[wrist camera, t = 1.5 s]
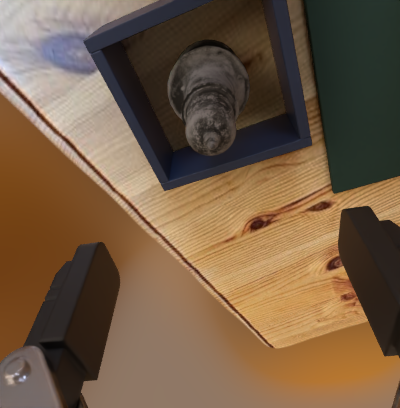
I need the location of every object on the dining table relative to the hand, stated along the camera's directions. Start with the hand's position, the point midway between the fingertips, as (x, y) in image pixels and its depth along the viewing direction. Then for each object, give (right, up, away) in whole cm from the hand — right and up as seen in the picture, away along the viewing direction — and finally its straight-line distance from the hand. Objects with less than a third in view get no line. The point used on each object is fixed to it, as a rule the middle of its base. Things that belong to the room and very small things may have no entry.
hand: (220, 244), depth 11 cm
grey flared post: (0, +12, +15) cm, 19 cm away
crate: (0, +12, +15) cm, 19 cm away
